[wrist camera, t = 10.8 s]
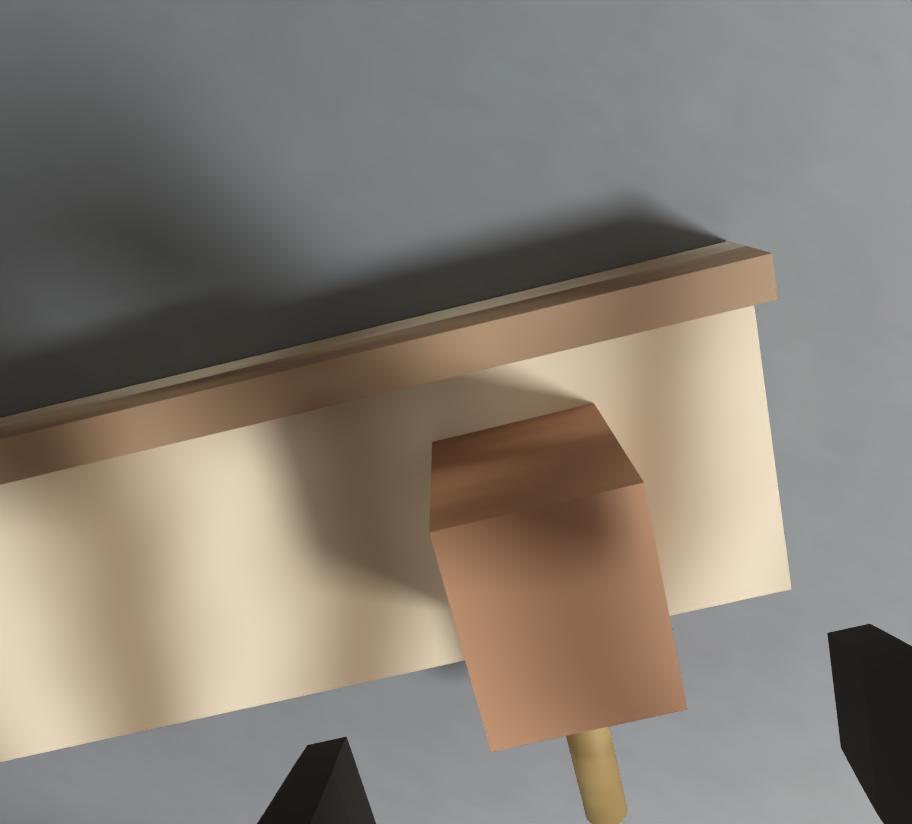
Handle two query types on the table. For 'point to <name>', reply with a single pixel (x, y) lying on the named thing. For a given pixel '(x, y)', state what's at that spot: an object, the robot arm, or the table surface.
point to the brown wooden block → (555, 589)
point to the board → (358, 495)
